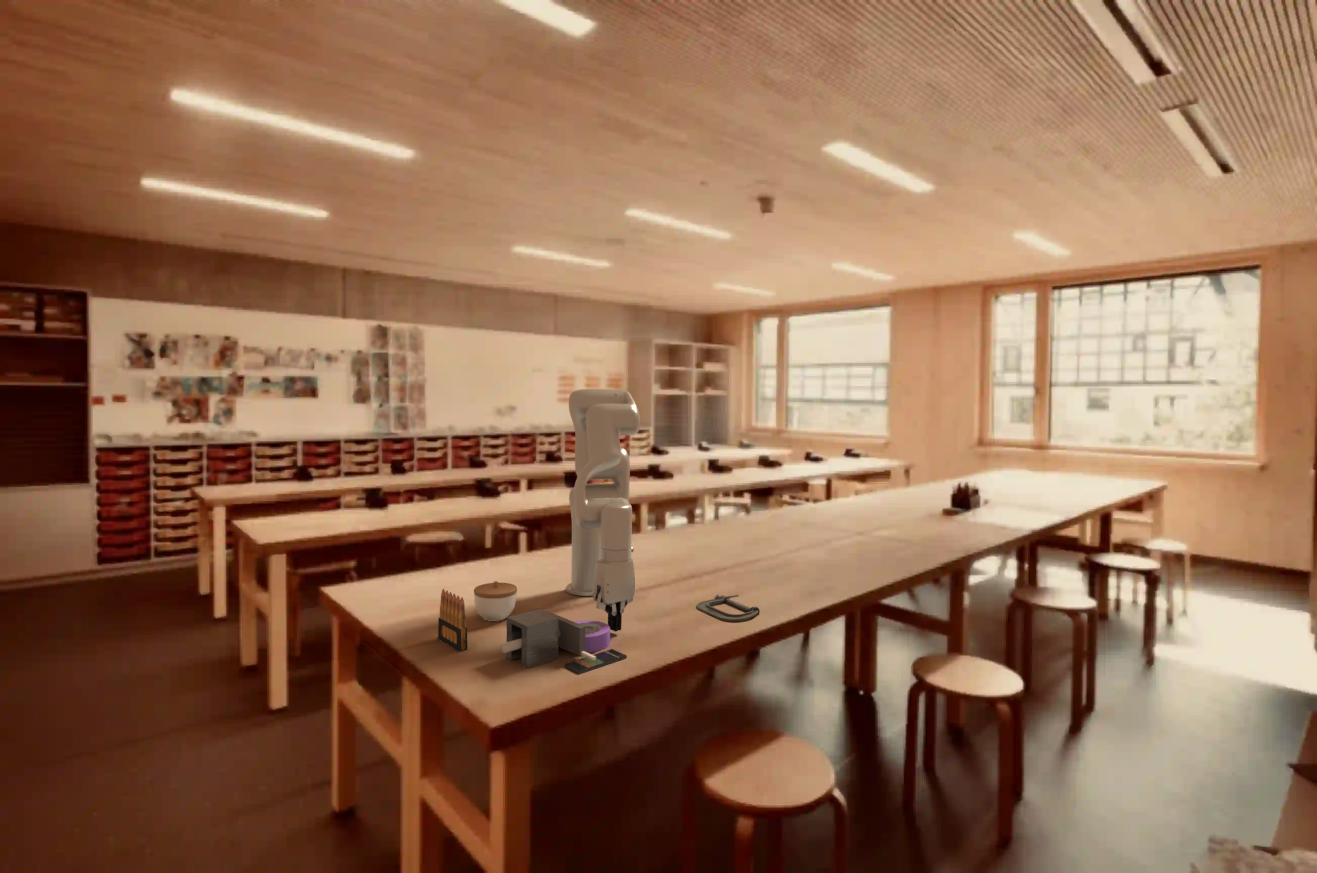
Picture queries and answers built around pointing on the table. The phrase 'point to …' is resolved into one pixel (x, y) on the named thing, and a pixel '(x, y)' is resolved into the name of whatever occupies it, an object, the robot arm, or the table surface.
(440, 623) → the ammunition clip
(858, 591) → the table surface
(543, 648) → the grey slide fixture
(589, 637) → the masking tape
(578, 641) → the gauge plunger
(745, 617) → the c clamp
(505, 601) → the lidded jar
